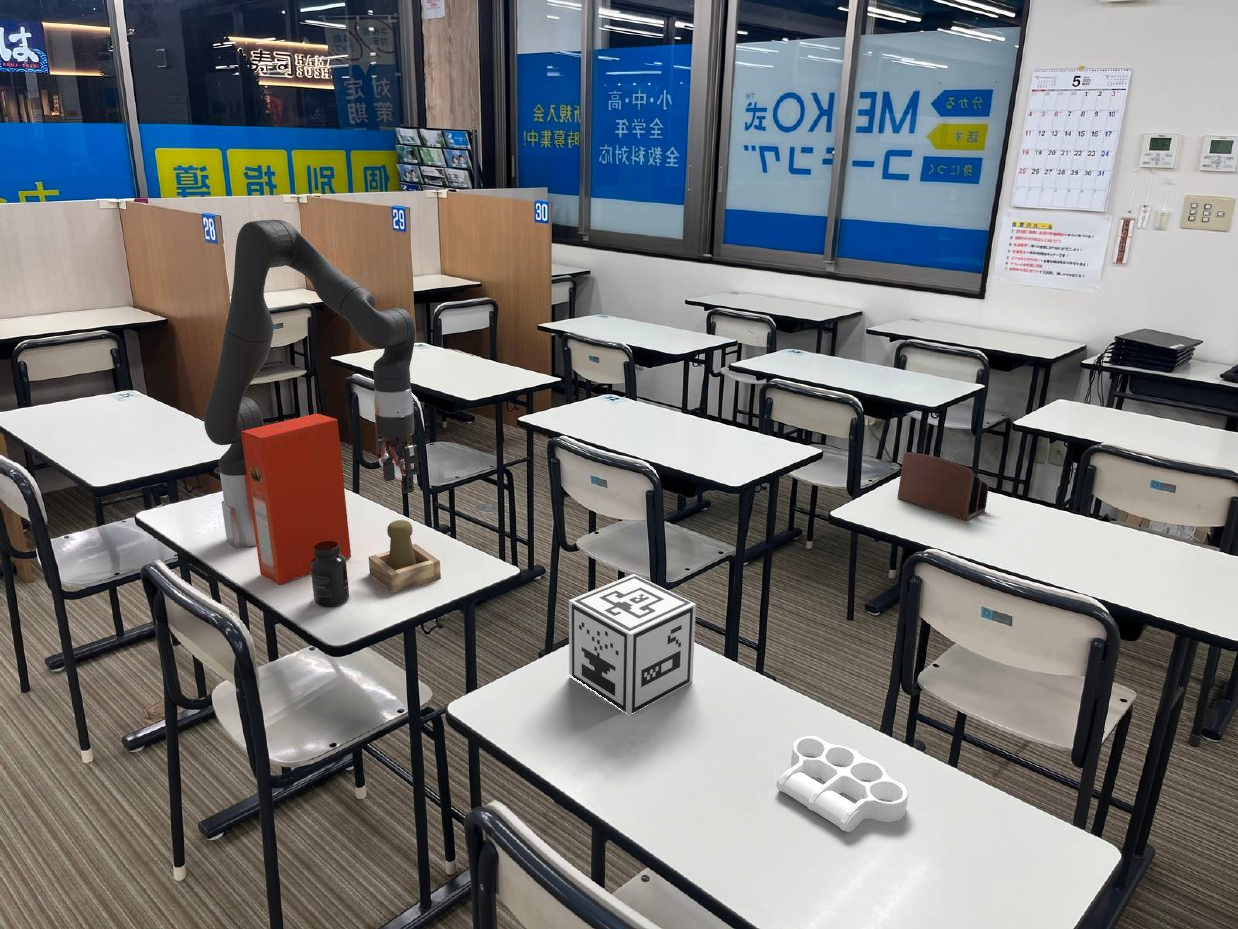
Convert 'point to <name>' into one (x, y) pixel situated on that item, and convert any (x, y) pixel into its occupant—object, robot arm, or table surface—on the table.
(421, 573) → the oak holder
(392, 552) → the olive knobbed tapered cylinder
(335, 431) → the file binder
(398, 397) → the robot arm
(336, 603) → the supplement bottle
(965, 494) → the letter holder
